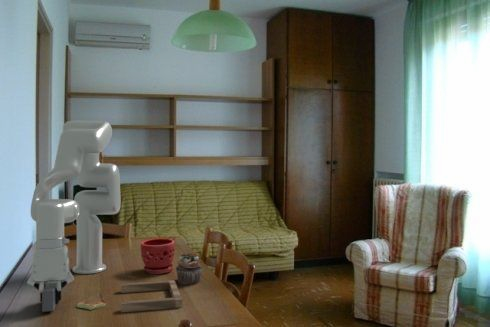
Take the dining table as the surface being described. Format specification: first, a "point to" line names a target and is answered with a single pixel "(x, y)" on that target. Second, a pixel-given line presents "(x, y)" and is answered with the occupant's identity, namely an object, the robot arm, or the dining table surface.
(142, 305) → the walnut frame
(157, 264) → the plant pot
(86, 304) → the shard
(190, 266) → the cupcake
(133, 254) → the dining table surface
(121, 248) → the dining table surface
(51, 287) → the block
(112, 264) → the dining table surface
